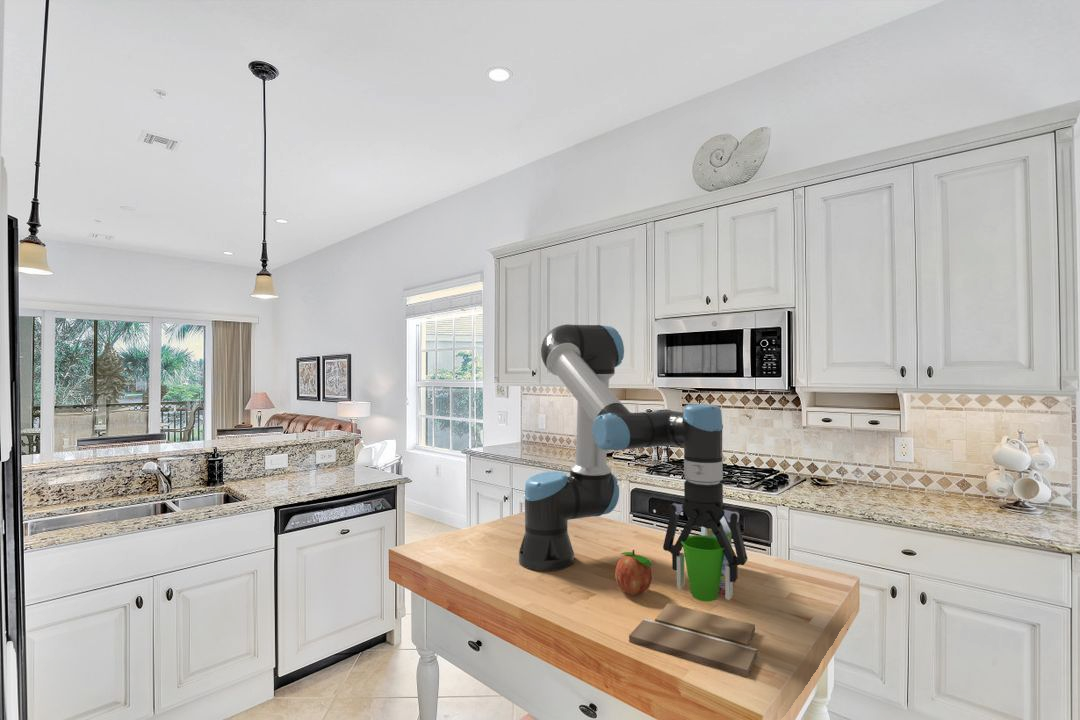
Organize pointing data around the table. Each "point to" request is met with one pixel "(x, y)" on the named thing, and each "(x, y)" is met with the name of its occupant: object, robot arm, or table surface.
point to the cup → (703, 566)
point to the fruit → (633, 573)
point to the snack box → (729, 535)
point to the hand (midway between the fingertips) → (704, 591)
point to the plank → (707, 624)
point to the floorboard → (695, 646)
